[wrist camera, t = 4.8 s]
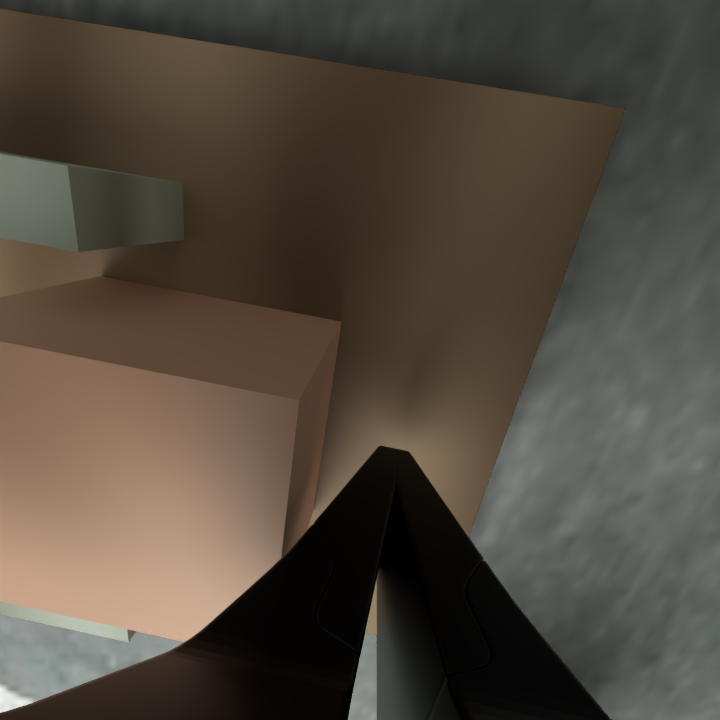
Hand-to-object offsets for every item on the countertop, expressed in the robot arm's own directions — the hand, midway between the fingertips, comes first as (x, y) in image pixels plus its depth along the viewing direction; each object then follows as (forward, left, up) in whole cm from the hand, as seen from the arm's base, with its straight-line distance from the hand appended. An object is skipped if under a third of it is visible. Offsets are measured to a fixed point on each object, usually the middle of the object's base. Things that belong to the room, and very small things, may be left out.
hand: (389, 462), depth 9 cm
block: (+5, 0, -1) cm, 5 cm away
